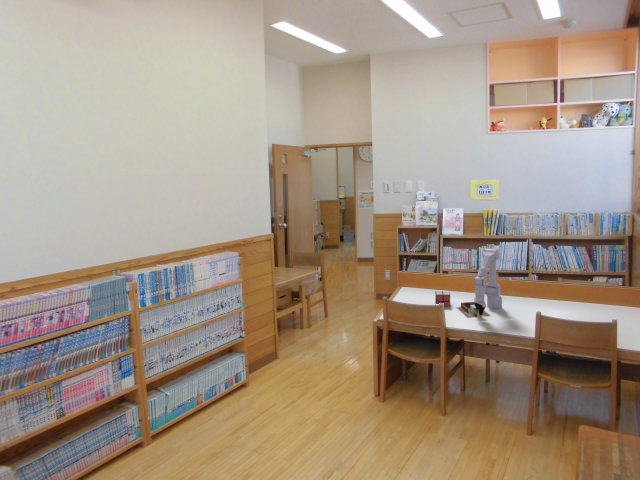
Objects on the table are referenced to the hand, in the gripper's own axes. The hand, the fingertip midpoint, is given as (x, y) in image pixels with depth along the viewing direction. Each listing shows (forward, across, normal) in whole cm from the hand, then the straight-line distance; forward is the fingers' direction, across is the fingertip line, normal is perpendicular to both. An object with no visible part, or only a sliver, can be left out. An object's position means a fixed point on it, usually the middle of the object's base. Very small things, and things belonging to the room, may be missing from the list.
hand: (479, 314), depth 309 cm
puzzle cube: (+3, -31, -15) cm, 35 cm away
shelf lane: (+3, -12, 0) cm, 12 cm away
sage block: (+2, -5, 0) cm, 5 cm away
